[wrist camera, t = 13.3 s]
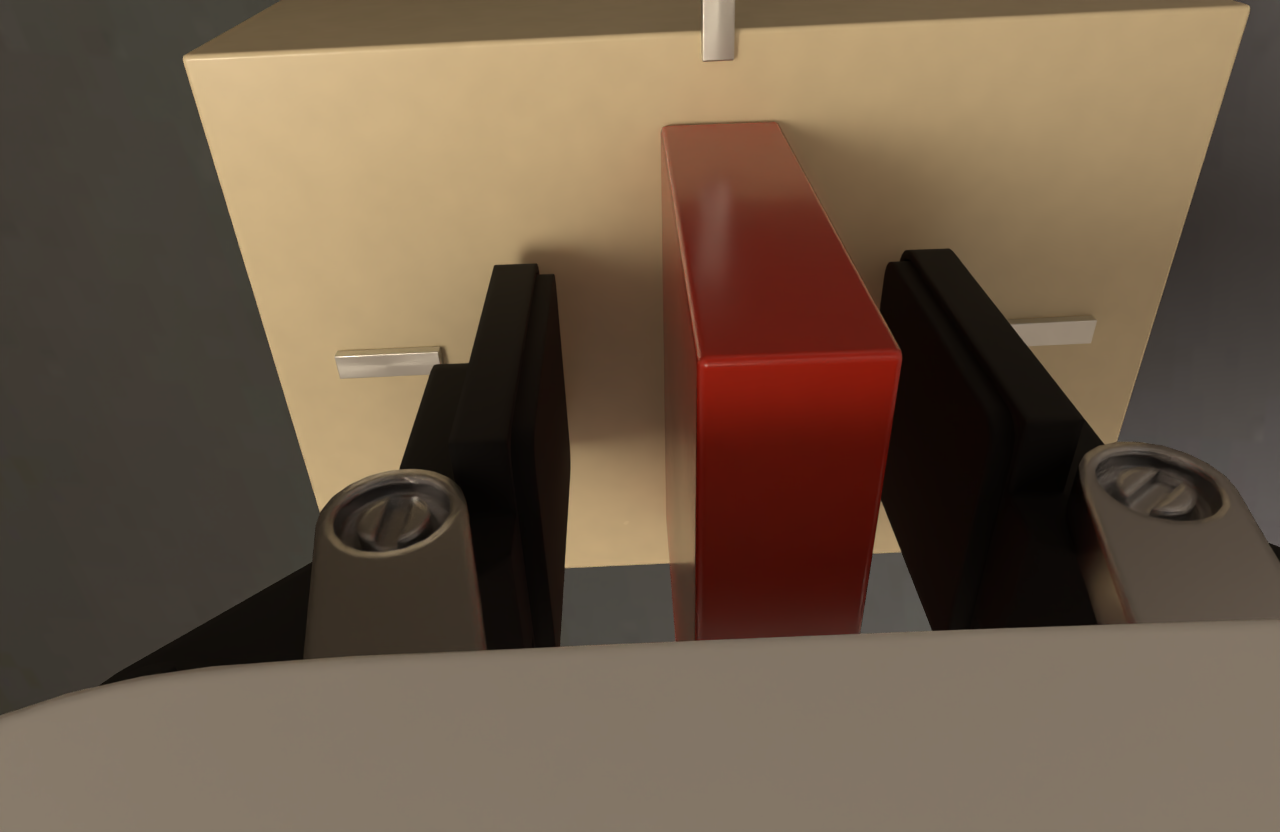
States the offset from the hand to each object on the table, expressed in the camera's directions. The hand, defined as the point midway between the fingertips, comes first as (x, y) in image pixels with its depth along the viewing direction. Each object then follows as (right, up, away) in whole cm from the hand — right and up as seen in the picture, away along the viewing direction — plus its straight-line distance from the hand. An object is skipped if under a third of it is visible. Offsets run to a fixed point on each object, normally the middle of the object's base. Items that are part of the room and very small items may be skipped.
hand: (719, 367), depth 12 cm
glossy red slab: (0, 0, 0) cm, 1 cm away
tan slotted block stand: (0, +3, +4) cm, 5 cm away
